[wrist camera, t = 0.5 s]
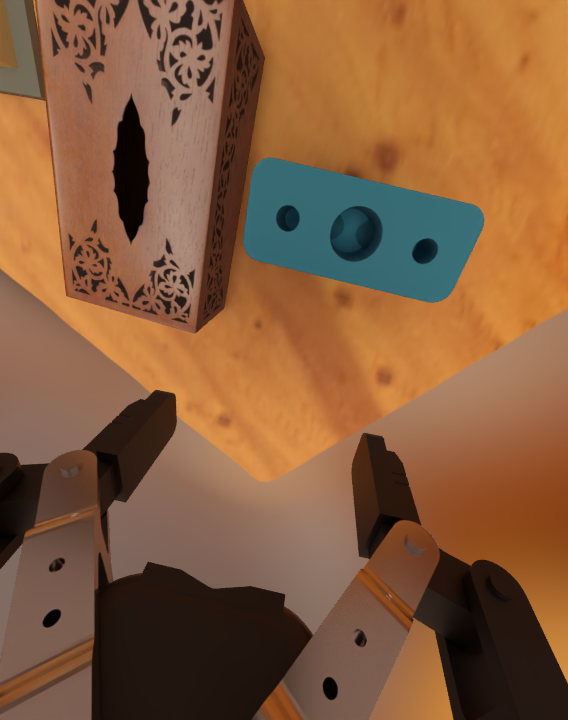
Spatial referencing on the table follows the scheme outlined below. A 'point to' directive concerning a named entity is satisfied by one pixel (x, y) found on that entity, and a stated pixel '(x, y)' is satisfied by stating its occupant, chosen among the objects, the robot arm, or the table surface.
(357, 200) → the block
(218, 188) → the tissue box cover
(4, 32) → the ochre block
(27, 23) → the felt mat
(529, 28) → the table surface
